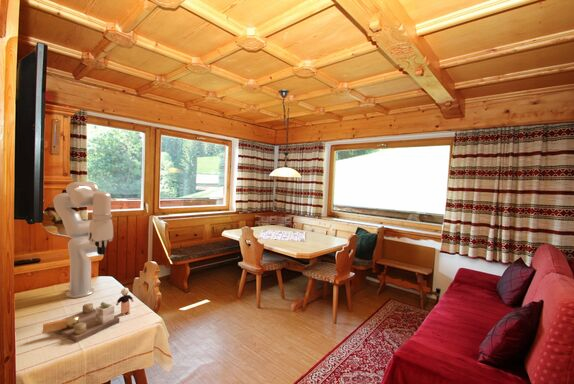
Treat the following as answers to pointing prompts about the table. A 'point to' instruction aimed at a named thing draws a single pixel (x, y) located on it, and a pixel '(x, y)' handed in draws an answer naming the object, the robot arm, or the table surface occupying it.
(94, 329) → the base
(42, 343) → the table surface
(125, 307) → the grandmother figurine
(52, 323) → the orange lever bar
